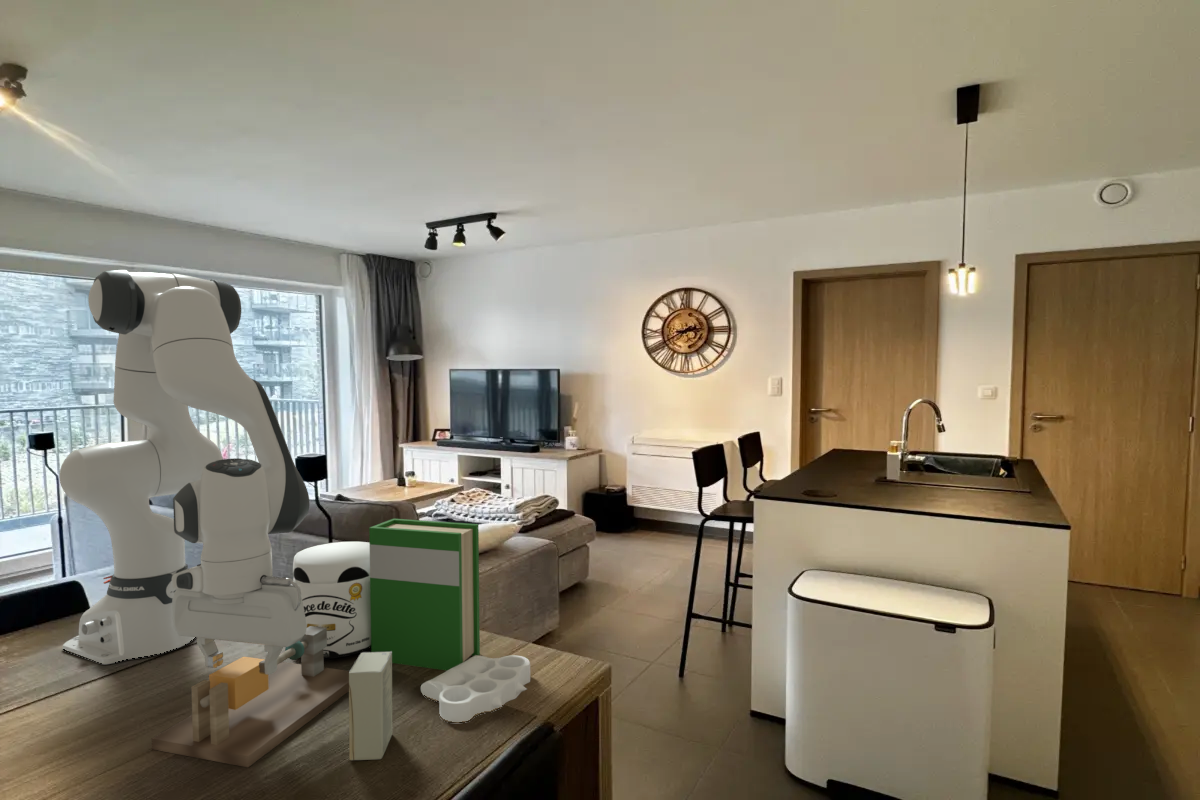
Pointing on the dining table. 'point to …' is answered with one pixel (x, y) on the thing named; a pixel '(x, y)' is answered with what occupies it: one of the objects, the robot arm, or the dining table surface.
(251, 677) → the marker sleeve
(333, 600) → the milk container
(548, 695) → the dining table surface
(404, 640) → the hardback book
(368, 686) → the skincare box
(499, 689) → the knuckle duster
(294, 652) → the board
